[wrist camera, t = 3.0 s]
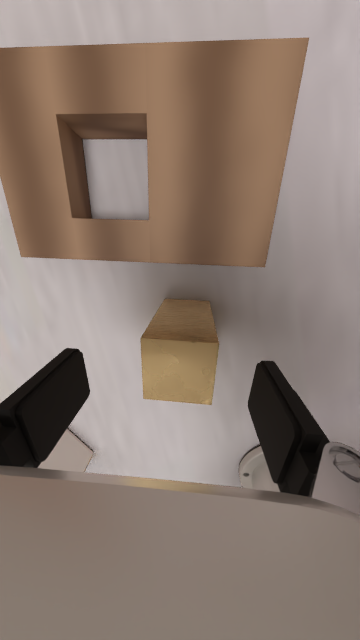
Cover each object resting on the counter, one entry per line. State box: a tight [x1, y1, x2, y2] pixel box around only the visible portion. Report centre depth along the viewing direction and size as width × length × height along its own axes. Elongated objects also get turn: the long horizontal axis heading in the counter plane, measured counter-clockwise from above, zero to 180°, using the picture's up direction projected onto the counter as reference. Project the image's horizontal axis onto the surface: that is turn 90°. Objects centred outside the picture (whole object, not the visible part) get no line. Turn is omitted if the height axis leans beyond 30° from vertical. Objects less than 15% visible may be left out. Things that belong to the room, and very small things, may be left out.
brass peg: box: [141, 299, 219, 405], centre depth 16 cm, size 4×4×9 cm
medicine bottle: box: [38, 429, 93, 472], centre depth 23 cm, size 7×7×12 cm
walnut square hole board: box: [0, 38, 309, 267], centre depth 14 cm, size 20×12×3 cm, turn 88°
